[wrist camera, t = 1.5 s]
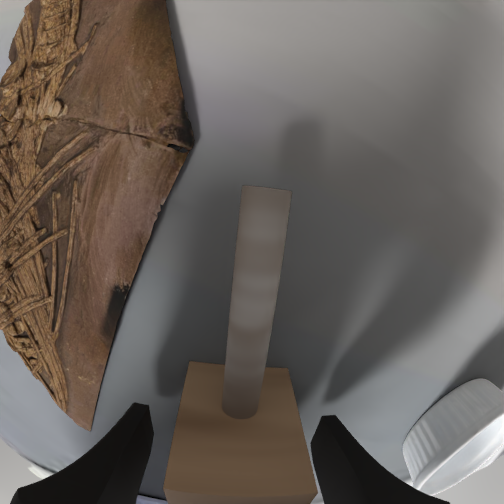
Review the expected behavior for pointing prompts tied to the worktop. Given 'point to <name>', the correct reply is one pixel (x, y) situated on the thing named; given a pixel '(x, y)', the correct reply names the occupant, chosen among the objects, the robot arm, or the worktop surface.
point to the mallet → (244, 387)
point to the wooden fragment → (82, 180)
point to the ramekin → (455, 436)
